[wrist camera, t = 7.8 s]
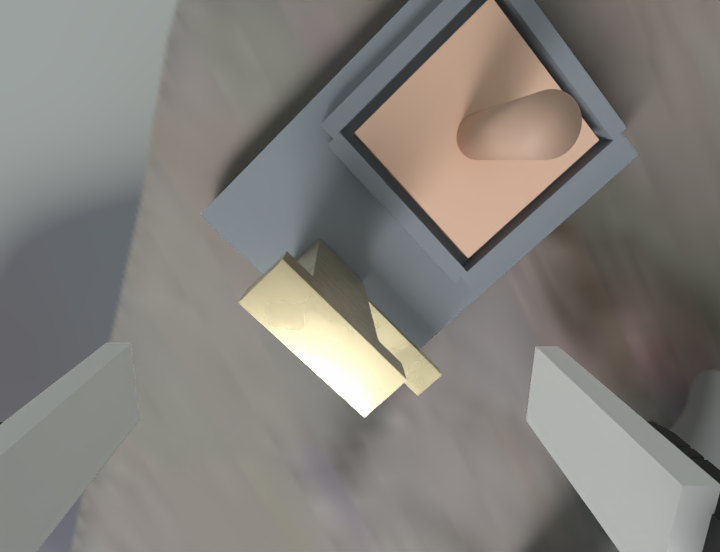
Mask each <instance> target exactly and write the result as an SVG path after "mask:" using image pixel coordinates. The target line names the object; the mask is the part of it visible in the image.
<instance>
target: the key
mask: <svg viewBox="0 0 720 552" xmlns="http://www.w3.org/2000/svg"><path fill="white" fill-rule="evenodd" d="M238 303H239V304H241V305H242V306H243V307H244V308H245V309H246V310H247V311H248V312H249V313H250V314H252V315H253V316H254V317H255V318H256V319H257V320H258V321H259V322H260V323H261V324H262V325H264V326H265V327H266V328H267V329H268V330H269V331H270V332H271V333H272V334H273V335H275V336H276V337H277V338H278V339H279V340H280V341H281V342H282V343H283V344H284V345H285V346H287V347H288V348H289V349H290V350H291V351H292V352H293V353H294V354H295V355H296V356H298V357H299V358H300V359H301V360H302V361H303V362H304V363H305V364H306V365H307V366H309V367H310V368H311V369H312V370H313V371H314V372H315V373H316V374H317V375H318V376H319V377H321V378H322V379H323V380H324V381H325V382H326V383H327V384H328V385H329V386H330V387H332V388H333V389H334V390H335V391H336V392H337V393H338V394H339V395H340V396H341V397H342V398H344V399H345V400H346V401H347V402H348V403H349V404H350V405H351V406H352V407H353V408H355V409H356V410H357V411H358V412H359V413H360V414H361V415H362V416H363V417H366V416H367V415H368V414H369V413H370V412H371V411H372V410H374V409H375V408H376V407H377V406H378V405H379V404H380V403H382V402H383V401H384V400H385V399H386V398H387V397H388V396H390V395H391V394H392V393H393V392H394V391H395V390H396V389H398V388H399V387H400V386H401V385H402V384H403V383H405V384H406V385H407V386H408V387H409V388H410V389H411V390H412V391H413V392H414V393H415V394H416V395H419V394H421V393H422V392H423V391H424V390H425V389H426V388H428V387H429V386H430V385H431V384H432V383H433V382H434V381H436V380H437V379H438V378H439V377H440V376H441V375H442V374H441V372H440V370H439V368H438V367H437V366H436V365H435V364H434V363H433V362H432V361H431V360H430V359H429V358H428V357H427V356H426V355H425V354H424V353H423V352H422V351H421V350H420V349H419V348H418V347H417V346H416V345H415V344H414V343H413V342H412V341H411V340H410V339H409V338H408V337H407V336H406V335H405V334H404V333H403V332H402V331H401V330H400V329H399V328H398V327H397V326H396V325H395V324H394V323H393V322H392V321H391V320H390V319H389V318H388V317H387V316H386V315H385V314H384V313H383V312H382V311H381V310H380V309H379V308H378V307H377V306H376V305H375V304H374V303H373V302H372V301H371V300H370V299H369V298H368V297H367V294H366V290H365V286H364V283H363V282H362V281H361V280H360V279H359V278H358V277H357V276H356V275H355V274H354V273H353V272H352V271H351V270H350V269H349V268H348V267H347V266H346V265H345V264H344V263H343V262H342V261H341V260H340V259H339V258H338V257H337V256H336V255H335V254H334V253H333V252H332V251H331V250H330V249H329V248H328V247H327V246H326V245H325V244H324V243H323V242H322V241H321V240H320V239H318V240H317V241H316V242H315V243H314V244H313V245H312V246H311V247H310V248H309V249H308V250H307V251H306V252H305V253H304V254H303V255H302V256H301V257H300V258H299V259H297V260H296V259H295V258H294V257H293V256H291V255H290V254H289V253H288V252H286V253H285V254H284V255H283V256H281V257H280V258H279V259H278V260H277V261H276V262H275V263H274V264H273V265H272V266H271V267H270V268H269V269H268V270H267V271H266V272H265V273H264V274H263V275H262V276H261V277H260V278H259V279H258V280H257V281H256V282H255V283H254V284H253V285H252V286H251V287H250V288H248V289H247V290H246V292H245V293H244V295H243V296H242V298H241V299H240V301H239V302H238Z"/></svg>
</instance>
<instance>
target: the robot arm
mask: <svg viewBox="0 0 720 552" xmlns="http://www.w3.org/2000/svg"><path fill="white" fill-rule="evenodd" d="M139 420H140V418H139V408H138V399H137V389H136V380H135V370H134V361H133V351H132V343H106V344H104V345H103V346H102V347H101V348H99V349H98V350H97V351H95V352H94V353H93V354H92V355H90V356H89V357H88V358H86V359H85V360H84V361H82V362H81V363H80V364H78V365H77V366H76V367H75V368H73V369H72V370H71V371H69V372H68V373H67V374H66V375H64V376H63V377H62V378H60V379H59V380H58V381H56V382H55V383H54V384H53V385H51V386H50V387H49V388H47V389H46V390H45V391H43V392H42V393H41V394H39V395H38V396H37V397H36V398H34V399H33V400H32V401H30V402H29V403H28V404H27V405H25V406H24V407H23V408H21V409H20V410H19V411H17V412H16V413H15V414H14V415H12V416H11V417H10V418H8V419H7V420H6V421H4V422H1V423H0V552H37V550H38V549H39V548H40V546H41V545H42V544H43V542H44V541H45V540H46V539H47V538H48V536H49V535H50V533H51V532H52V531H53V530H54V529H55V527H56V526H57V525H58V523H59V522H60V521H61V520H62V518H63V517H64V516H65V515H66V513H67V512H68V511H69V509H70V508H71V507H72V506H73V504H74V503H75V502H76V500H77V499H78V498H79V497H80V495H81V494H82V493H83V492H84V490H85V489H86V488H87V486H88V485H89V484H90V483H91V481H92V480H93V479H94V478H95V476H96V475H97V474H98V472H99V471H100V470H101V469H102V467H103V466H104V465H105V463H106V462H107V461H108V460H109V458H110V457H111V456H112V455H113V453H114V452H115V451H116V449H117V448H118V447H119V446H120V444H121V443H122V442H123V441H124V439H125V438H126V437H127V435H128V434H129V433H130V432H131V430H132V429H133V428H134V426H135V425H136V424H137V423H138V421H139ZM526 421H527V422H528V424H529V425H530V427H531V428H532V429H533V431H534V432H535V434H536V435H537V436H538V438H539V439H540V441H541V442H542V443H543V445H544V446H545V448H546V449H547V450H548V452H549V453H550V455H551V456H552V457H553V459H554V460H555V462H556V463H557V464H558V466H559V467H560V469H561V470H562V471H563V473H564V474H565V476H566V477H567V478H568V480H569V481H570V483H571V484H572V485H573V487H574V488H575V490H576V491H577V492H578V494H579V495H580V497H581V498H582V499H583V501H584V502H585V504H586V505H587V506H588V508H589V509H590V511H591V512H592V513H593V515H594V516H595V518H596V519H597V520H598V522H599V523H600V525H601V526H602V527H603V529H604V530H605V532H606V533H607V534H608V536H609V537H610V539H611V540H612V541H613V543H614V544H615V546H616V547H617V549H618V550H619V551H620V552H720V470H719V469H717V468H716V467H715V466H714V465H713V464H711V463H710V462H709V461H708V460H704V457H703V456H701V455H700V454H699V453H698V452H697V451H695V450H694V449H691V448H690V446H689V445H688V444H687V443H686V442H684V441H683V440H682V439H681V438H680V437H678V436H677V435H676V434H675V433H673V432H671V431H669V430H667V429H665V428H664V427H662V426H660V425H658V424H656V423H654V422H646V421H645V420H644V419H643V418H642V417H641V416H639V415H638V414H637V413H636V412H635V411H633V410H632V409H631V408H630V407H629V406H628V405H626V404H625V403H624V402H623V401H622V400H621V399H619V398H618V397H617V396H616V395H615V394H614V393H612V392H611V391H610V390H609V389H608V388H606V387H605V386H604V385H603V384H602V383H601V382H599V381H598V380H597V379H596V378H595V377H594V376H592V375H591V374H590V373H589V372H588V371H587V370H585V369H584V368H583V367H582V366H581V365H579V364H578V363H577V362H576V361H575V360H574V359H572V358H571V357H570V356H569V355H568V354H567V353H565V352H564V351H563V350H562V349H561V348H560V347H558V346H536V348H535V355H534V363H533V371H532V378H531V386H530V394H529V401H528V409H527V417H526Z"/></svg>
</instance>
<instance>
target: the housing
mask: <svg viewBox="0 0 720 552" xmlns="http://www.w3.org/2000/svg"><path fill="white" fill-rule="evenodd" d="M486 1H487V0H409V1H408V2H407V3H406V4H405V5H404V6H403V7H402V8H401V9H400V10H399V11H398V12H397V13H396V14H395V15H394V16H393V17H392V18H391V19H390V20H389V21H388V22H387V23H386V24H385V25H384V27H383V28H382V29H381V30H380V31H379V32H378V33H377V34H376V35H375V36H374V37H373V38H372V39H371V40H370V41H369V42H368V43H367V44H366V45H365V46H364V47H363V48H362V49H361V50H360V51H359V52H358V53H357V54H356V55H355V56H354V57H353V58H352V59H351V60H350V61H349V62H348V63H347V64H346V65H345V67H344V68H343V69H342V70H341V71H340V72H339V73H338V74H337V75H336V76H335V77H334V78H333V79H332V80H331V81H330V82H329V83H328V84H327V85H326V86H325V87H324V88H323V89H322V90H321V91H320V92H319V93H318V94H317V95H316V96H315V97H314V98H313V99H312V100H311V101H310V102H309V103H308V104H307V105H306V106H305V108H304V109H303V110H302V111H301V112H300V113H299V114H298V115H297V116H296V117H295V118H294V119H293V120H292V121H291V122H290V123H289V124H288V125H287V126H286V127H285V128H284V129H283V130H282V131H281V132H280V133H279V134H278V135H277V136H276V137H275V138H274V139H273V140H272V141H271V142H270V143H269V144H268V145H267V146H266V148H265V149H264V150H263V151H262V152H261V153H260V154H259V155H258V156H257V157H256V158H255V159H254V160H253V161H252V162H251V163H250V164H249V165H248V166H247V167H246V168H245V169H244V170H243V171H242V172H241V173H240V174H239V175H238V176H237V177H236V178H235V179H234V180H233V181H232V182H231V183H230V184H229V185H228V186H227V188H226V189H225V190H224V191H223V192H222V193H221V194H220V195H219V196H218V197H217V198H216V199H215V200H214V201H213V202H212V203H211V204H210V205H209V206H208V207H207V208H206V209H205V210H204V211H203V212H202V213H201V214H200V216H201V217H202V218H203V219H204V220H205V221H206V222H207V223H208V224H209V225H210V226H212V227H213V228H214V229H215V230H216V231H217V232H218V233H219V234H220V235H221V236H222V237H223V238H224V239H225V240H226V241H227V242H229V243H230V244H231V245H232V246H233V247H234V248H235V249H236V250H237V251H238V252H239V253H240V254H241V255H242V256H243V257H244V258H245V259H247V260H248V261H249V262H250V263H251V264H252V265H253V266H254V267H255V268H256V269H257V270H258V271H259V272H260V273H261V274H262V275H263V274H264V273H265V272H266V271H267V270H268V269H269V268H270V267H271V266H272V265H273V264H274V263H275V262H276V261H277V260H278V259H279V258H280V257H281V256H283V255H284V254H285V253H286V252H288V253H289V254H290V255H291V256H293V257H294V258H295V259H296V260H297V259H299V258H300V257H301V256H302V255H303V254H304V253H305V252H306V251H307V250H308V249H309V248H310V247H311V246H312V245H313V244H314V243H315V242H316V241H317V240H318V239H320V240H321V241H322V242H323V243H324V244H325V245H326V246H327V247H328V248H329V249H330V250H331V251H332V252H333V253H334V254H335V255H336V256H337V257H338V258H339V259H340V260H341V261H342V262H343V263H344V264H345V265H346V266H347V267H348V268H349V269H350V270H351V271H352V272H353V273H354V274H355V275H356V276H357V277H358V278H359V279H360V280H361V281H362V282H363V283H364V286H365V290H366V294H367V297H368V298H369V299H370V300H371V301H372V302H373V303H374V304H375V305H376V306H377V307H378V308H379V309H380V310H381V311H382V312H383V313H384V314H385V315H386V316H387V317H388V318H389V319H390V320H391V321H392V322H393V323H394V324H395V325H396V326H397V327H398V328H399V329H400V330H401V331H402V332H403V333H404V334H405V335H406V336H407V337H408V338H409V339H410V340H411V341H412V342H413V343H414V344H415V345H416V346H417V347H418V348H419V349H420V348H421V347H422V346H423V345H424V344H425V343H427V342H428V341H429V340H430V339H431V338H432V337H433V336H434V335H436V334H437V333H438V332H439V331H440V330H441V329H442V328H443V327H445V326H446V325H447V324H448V323H449V322H450V321H451V320H453V319H454V318H455V317H456V316H457V315H458V314H459V313H460V312H462V311H463V310H464V309H465V308H466V307H467V306H468V305H469V304H471V303H472V302H473V301H474V300H475V299H476V298H477V297H478V296H480V295H481V294H482V293H483V292H484V291H485V290H486V289H488V288H489V287H490V286H491V285H492V284H493V283H494V282H495V281H497V280H498V279H499V278H500V277H501V276H502V275H503V274H504V273H506V272H507V271H508V270H509V269H510V268H511V267H512V266H513V265H515V264H516V263H517V262H518V261H519V260H520V259H521V258H523V257H524V256H525V255H526V254H527V253H528V252H529V251H530V250H532V249H533V248H534V247H535V246H536V245H537V244H538V243H539V242H541V241H542V240H543V239H544V238H545V237H546V236H547V235H548V234H550V233H551V232H552V231H553V230H554V229H555V228H556V227H558V226H559V225H560V224H561V223H562V222H563V221H564V220H565V219H567V218H568V217H569V216H570V215H571V214H572V213H573V212H574V211H576V210H577V209H578V208H579V207H580V206H581V205H582V204H583V203H585V202H586V201H587V200H588V199H589V198H590V197H591V196H593V195H594V194H595V193H596V192H597V191H598V190H599V189H600V188H602V187H603V186H604V185H605V184H606V183H607V182H608V181H609V180H611V179H612V178H613V177H614V176H615V175H616V174H617V173H618V172H620V171H621V170H622V169H623V168H624V167H625V166H626V165H628V164H629V163H630V162H631V161H632V160H633V159H634V158H635V157H637V156H638V153H637V152H636V151H635V149H634V148H633V147H632V145H631V144H630V142H629V141H628V140H627V138H626V137H625V136H624V134H623V133H622V132H623V131H624V130H626V129H627V127H626V126H625V124H624V123H623V122H622V120H621V119H620V118H619V116H618V115H617V113H616V112H615V111H614V109H613V108H612V107H611V105H610V104H609V102H608V101H607V100H606V98H605V97H604V96H603V94H602V93H601V91H600V90H599V89H598V87H597V86H596V85H595V83H594V82H593V80H592V79H591V78H590V76H589V75H588V74H587V72H586V71H585V69H584V68H583V67H582V65H581V64H580V63H579V61H578V60H577V58H576V57H575V56H574V54H573V53H572V52H571V50H570V49H569V47H568V46H567V45H566V43H565V42H564V41H563V39H562V38H561V36H560V35H559V34H558V32H557V31H556V29H555V28H554V27H553V25H552V24H551V23H550V21H549V20H548V18H547V17H546V16H545V14H544V13H543V12H542V10H541V9H540V7H539V6H538V5H537V3H536V2H535V1H534V0H494V1H495V2H496V3H497V5H498V6H499V7H500V9H501V10H502V11H503V13H504V14H505V15H506V17H507V18H508V19H509V21H510V22H511V23H512V25H513V26H514V27H515V29H516V30H517V31H518V33H519V34H520V35H521V37H522V38H523V39H524V41H525V42H526V43H527V45H528V46H529V47H530V49H531V50H532V51H533V53H534V54H535V55H536V57H537V58H538V59H539V61H540V62H541V63H542V65H543V66H544V67H545V69H546V70H547V71H548V73H549V74H550V75H551V77H552V78H553V79H554V81H555V82H556V83H557V85H558V86H559V87H560V89H561V90H562V91H564V92H566V93H568V94H569V95H571V96H572V97H573V98H574V99H575V101H576V102H577V104H578V106H579V108H580V111H581V115H582V118H583V119H584V121H585V122H586V123H587V125H588V126H589V127H590V129H591V130H592V131H593V133H594V134H595V135H596V137H597V138H598V139H599V141H598V142H597V143H595V144H594V145H593V146H592V147H591V148H590V149H589V150H588V151H587V152H585V153H584V154H583V155H582V156H581V157H580V158H579V159H578V160H577V161H576V162H574V163H573V164H572V165H571V166H570V167H569V168H568V169H567V170H566V171H564V172H563V173H562V174H561V175H560V176H559V177H558V178H557V179H556V180H554V181H553V182H552V183H551V184H550V185H549V186H548V187H547V188H546V189H545V190H543V191H542V192H541V193H540V194H539V195H538V196H537V197H536V198H535V199H533V200H532V201H531V202H530V203H529V204H528V205H527V206H526V207H525V208H523V209H522V210H521V211H520V212H519V213H518V214H517V215H516V216H515V217H514V218H512V219H511V220H510V221H509V222H508V223H507V224H506V225H505V226H504V227H502V228H501V229H500V230H499V231H498V232H497V233H496V234H495V235H494V236H493V237H491V238H490V239H489V240H488V241H487V242H486V243H485V244H484V245H483V246H481V247H480V248H479V249H478V250H477V251H476V252H475V253H474V254H473V255H471V256H470V257H469V258H467V257H466V256H465V255H463V254H462V253H461V252H460V251H459V250H458V249H457V248H456V247H455V246H454V244H453V243H452V242H451V241H450V240H449V239H448V238H447V237H446V236H445V235H444V233H443V232H442V231H441V230H440V229H439V228H438V227H437V226H436V225H435V223H434V222H433V221H432V220H431V219H430V218H429V217H428V216H427V215H426V214H425V212H424V211H423V210H422V209H421V208H420V207H419V206H418V205H417V204H416V202H415V201H414V200H413V199H412V198H411V197H410V196H409V195H408V194H407V193H406V191H405V190H404V189H403V188H402V187H401V186H400V185H399V184H398V183H397V182H396V180H395V179H394V178H393V177H392V176H391V175H390V174H389V173H388V172H387V170H386V169H385V168H384V167H383V166H382V165H381V164H380V163H379V162H378V161H377V159H376V158H375V157H374V156H373V155H372V154H371V153H370V152H369V151H368V150H367V148H366V147H365V146H364V145H363V144H362V143H361V142H360V141H359V140H358V138H357V137H356V136H355V135H354V133H355V132H356V131H357V130H358V129H359V128H360V127H361V126H362V125H363V124H364V123H365V122H366V121H367V120H368V119H369V118H370V117H371V116H372V115H373V114H374V113H375V112H376V111H377V110H378V109H379V108H380V107H381V106H382V105H383V104H384V103H385V102H386V101H387V100H388V99H389V98H390V97H391V96H392V95H393V94H394V93H395V92H396V91H397V90H398V89H399V88H400V87H401V86H402V85H403V84H404V83H405V82H406V81H407V80H408V79H409V78H410V77H411V76H412V75H413V74H414V73H415V72H416V71H417V70H418V69H419V68H420V67H421V66H422V65H423V64H424V63H425V62H426V61H427V60H428V59H429V58H430V57H431V56H432V55H433V54H434V53H435V52H436V51H437V50H438V49H439V48H440V47H441V46H442V45H443V44H444V43H445V42H446V41H447V40H448V39H449V38H450V37H451V36H452V35H453V34H454V33H455V32H456V31H457V30H458V29H459V28H460V27H461V26H462V25H463V24H464V23H465V22H466V21H467V20H468V19H469V18H470V17H471V16H472V15H473V14H474V13H475V12H476V11H477V10H478V9H479V8H480V7H481V6H482V5H483V4H484V3H485V2H486Z"/></svg>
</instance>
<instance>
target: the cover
mask: <svg viewBox="0 0 720 552" xmlns="http://www.w3.org/2000/svg"><path fill="white" fill-rule="evenodd" d="M354 135H355V136H356V137H357V138H358V140H359V141H360V142H361V143H362V144H363V145H364V146H365V147H366V148H367V150H368V151H369V152H370V153H371V154H372V155H373V156H374V157H375V158H376V159H377V161H378V162H379V163H380V164H381V165H382V166H383V167H384V168H385V169H386V170H387V172H388V173H389V174H390V175H391V176H392V177H393V178H394V179H395V180H396V182H397V183H398V184H399V185H400V186H401V187H402V188H403V189H404V190H405V191H406V193H407V194H408V195H409V196H410V197H411V198H412V199H413V200H414V201H415V202H416V204H417V205H418V206H419V207H420V208H421V209H422V210H423V211H424V212H425V214H426V215H427V216H428V217H429V218H430V219H431V220H432V221H433V222H434V223H435V225H436V226H437V227H438V228H439V229H440V230H441V231H442V232H443V233H444V235H445V236H446V237H447V238H448V239H449V240H450V241H451V242H452V243H453V244H454V246H455V247H456V248H457V249H458V250H459V251H460V252H461V253H462V254H463V255H465V256H466V257H467V258H469V257H470V256H471V255H473V254H474V253H475V252H476V251H477V250H478V249H479V248H480V247H481V246H483V245H484V244H485V243H486V242H487V241H488V240H489V239H490V238H491V237H493V236H494V235H495V234H496V233H497V232H498V231H499V230H500V229H501V228H502V227H504V226H505V225H506V224H507V223H508V222H509V221H510V220H511V219H512V218H514V217H515V216H516V215H517V214H518V213H519V212H520V211H521V210H522V209H523V208H525V207H526V206H527V205H528V204H529V203H530V202H531V201H532V200H533V199H535V198H536V197H537V196H538V195H539V194H540V193H541V192H542V191H543V190H545V189H546V188H547V187H548V186H549V185H550V184H551V183H552V182H553V181H554V180H556V179H557V178H558V177H559V176H560V175H561V174H562V173H563V172H564V171H566V170H567V169H568V168H569V167H570V166H571V165H572V164H573V163H574V162H576V161H577V160H578V159H579V158H580V157H581V156H582V155H583V154H584V153H585V152H587V151H588V150H589V149H590V148H591V147H592V146H593V145H594V144H595V143H597V142H598V141H599V139H598V138H597V137H596V135H595V134H594V133H593V131H592V130H591V129H590V127H589V126H588V125H587V123H586V122H585V121H584V119H583V118H582V115H581V111H580V108H579V106H578V104H577V102H576V101H575V99H574V98H573V97H572V96H571V95H569V94H568V93H566V92H564V91H562V90H561V89H560V87H559V86H558V85H557V83H556V82H555V81H554V79H553V78H552V77H551V75H550V74H549V73H548V71H547V70H546V69H545V67H544V66H543V65H542V63H541V62H540V61H539V59H538V58H537V57H536V55H535V54H534V53H533V51H532V50H531V49H530V47H529V46H528V45H527V43H526V42H525V41H524V39H523V38H522V37H521V35H520V34H519V33H518V31H517V30H516V29H515V27H514V26H513V25H512V23H511V22H510V21H509V19H508V18H507V17H506V15H505V14H504V13H503V11H502V10H501V9H500V7H499V6H498V5H497V3H496V2H495V1H494V0H487V1H486V2H485V3H484V4H483V5H482V6H481V7H480V8H479V9H478V10H477V11H476V12H475V13H474V14H473V15H472V16H471V17H470V18H469V19H468V20H467V21H466V22H465V23H464V24H463V25H462V26H461V27H460V28H459V29H458V30H457V31H456V32H455V33H454V34H453V35H452V36H451V37H450V38H449V39H448V40H447V41H446V42H445V43H444V44H443V45H442V46H441V47H440V48H439V49H438V50H437V51H436V52H435V53H434V54H433V55H432V56H431V57H430V58H429V59H428V60H427V61H426V62H425V63H424V64H423V65H422V66H421V67H420V68H419V69H418V70H417V71H416V72H415V73H414V74H413V75H412V76H411V77H410V78H409V79H408V80H407V81H406V82H405V83H404V84H403V85H402V86H401V87H400V88H399V89H398V90H397V91H396V92H395V93H394V94H393V95H392V96H391V97H390V98H389V99H388V100H387V101H386V102H385V103H384V104H383V105H382V106H381V107H380V108H379V109H378V110H377V111H376V112H375V113H374V114H373V115H372V116H371V117H370V118H369V119H368V120H367V121H366V122H365V123H364V124H363V125H362V126H361V127H360V128H359V129H358V130H357V131H356V132H355V133H354Z"/></svg>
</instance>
